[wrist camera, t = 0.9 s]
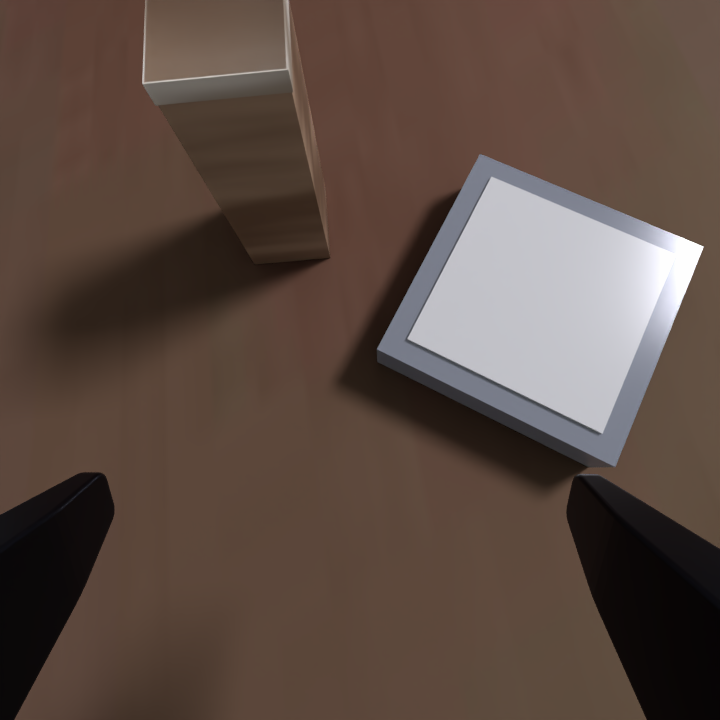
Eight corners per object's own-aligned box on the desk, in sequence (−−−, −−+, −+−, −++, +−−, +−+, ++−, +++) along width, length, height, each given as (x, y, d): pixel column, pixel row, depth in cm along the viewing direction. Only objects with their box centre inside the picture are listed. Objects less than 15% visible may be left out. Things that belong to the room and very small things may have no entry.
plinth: (589, 467, 22) (616, 467, 19) (376, 361, 23) (376, 348, 21) (670, 269, 24) (705, 245, 21) (470, 184, 25) (480, 151, 23)
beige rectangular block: (331, 258, 25) (288, 70, 13) (253, 265, 25) (142, 84, 13) (326, 189, 26) (282, -45, 14) (251, 196, 26) (146, -31, 14)
